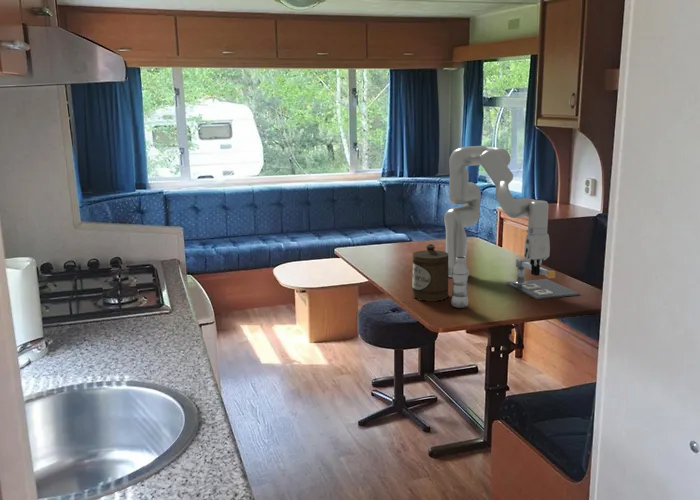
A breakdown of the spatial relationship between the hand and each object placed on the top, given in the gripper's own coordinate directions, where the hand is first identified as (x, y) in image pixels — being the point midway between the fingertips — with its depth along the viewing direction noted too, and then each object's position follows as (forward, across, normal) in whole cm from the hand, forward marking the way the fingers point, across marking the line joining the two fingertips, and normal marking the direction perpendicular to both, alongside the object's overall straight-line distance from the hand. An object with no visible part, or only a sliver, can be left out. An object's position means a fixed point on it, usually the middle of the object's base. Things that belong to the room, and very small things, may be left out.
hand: (535, 274), depth 263 cm
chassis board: (+9, +8, +5) cm, 13 cm away
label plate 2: (+9, +3, -2) cm, 9 cm away
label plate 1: (+9, +5, +7) cm, 12 cm away
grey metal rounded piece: (+9, +5, +14) cm, 17 cm away
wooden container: (+9, -39, +19) cm, 44 cm away
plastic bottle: (+9, -37, +1) cm, 38 cm away
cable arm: (0, +4, +4) cm, 6 cm away
